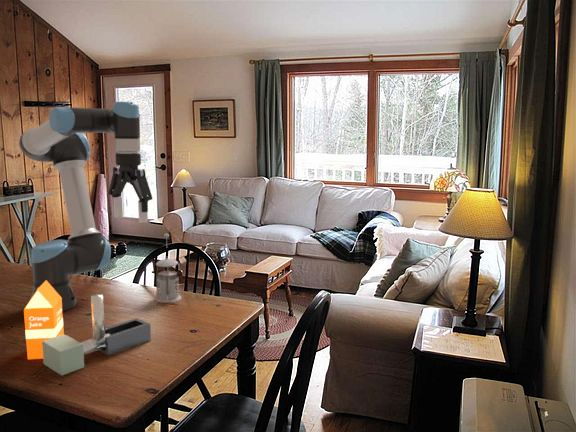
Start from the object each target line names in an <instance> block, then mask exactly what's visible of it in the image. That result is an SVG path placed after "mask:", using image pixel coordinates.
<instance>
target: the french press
mask: <svg viewBox="0 0 576 432" xmlns="http://www.w3.org/2000/svg"><path fill="white" fill-rule="evenodd" d="M168 237H170V234H168V233H164V234H163V238H166V241H165V242H166V247H168ZM178 264H179V262H178V261H177V260H175V259H173V258H169V257H166V258H162V259H161V260H160V259H159V260H158V261H157V262H156V263H155V265H156V266H157V267H160V268H166V270H165V269H164V270H163V271H159V272H158V273H157V277H156V283H157V284H156V286H157V287H156V288H157V290H156V291H157V296H156V297H155V298H154V300H155V301H156V302H157V303H164V304H165V303H167V304H168V303H175V302H178V301H180V300H182V296H181V295H180V293H179V292H180V291H179V289H180V288H179V276H178V272H177V271H172V270H169V268H171V267H175V266H178Z"/></svg>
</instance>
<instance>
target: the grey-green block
mask: <svg viewBox="0 0 576 432" xmlns="http://www.w3.org/2000/svg"><path fill="white" fill-rule="evenodd" d="M42 349H43V359H42V360H43V362H42V363H43V365H45V366H46V367H48V368H49V369H51V370H52V371H53V372H55V373H57V374H58V375H60V376H64V375H68V374H70V373H72V372H75V371H78V370H81V369H83V368H85V355H84V353H83V344H82V343H80V341H78V340H76V339H74V338H73V337H71V336H69V335H67V334H65V333H64V334H63V335H60V336H57V337H54V338H50V339H47V340H44V341H42Z"/></svg>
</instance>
